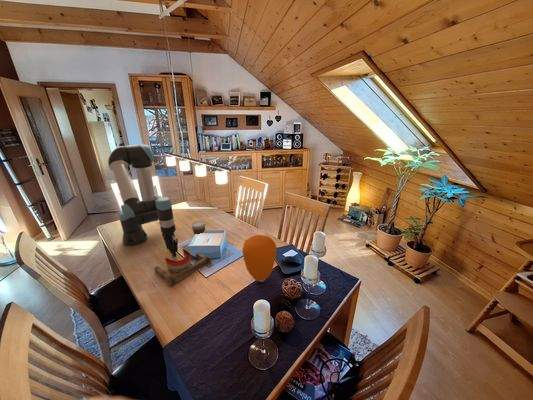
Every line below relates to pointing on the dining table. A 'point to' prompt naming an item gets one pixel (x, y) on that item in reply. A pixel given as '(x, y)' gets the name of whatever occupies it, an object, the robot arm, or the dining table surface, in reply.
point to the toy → (179, 263)
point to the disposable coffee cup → (198, 227)
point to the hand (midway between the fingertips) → (174, 260)
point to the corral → (185, 273)
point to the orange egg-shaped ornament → (259, 256)
